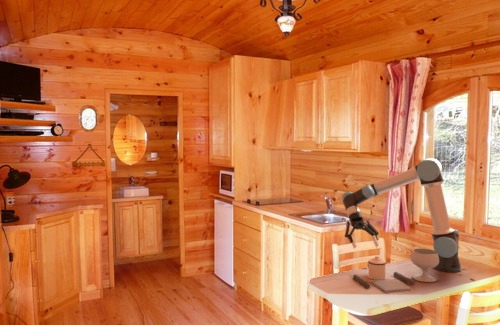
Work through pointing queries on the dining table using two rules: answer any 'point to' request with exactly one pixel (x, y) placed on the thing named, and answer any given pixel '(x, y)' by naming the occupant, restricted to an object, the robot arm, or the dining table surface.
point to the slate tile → (390, 285)
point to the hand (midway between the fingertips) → (366, 246)
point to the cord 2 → (403, 278)
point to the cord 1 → (361, 281)
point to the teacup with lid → (376, 268)
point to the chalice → (424, 263)
